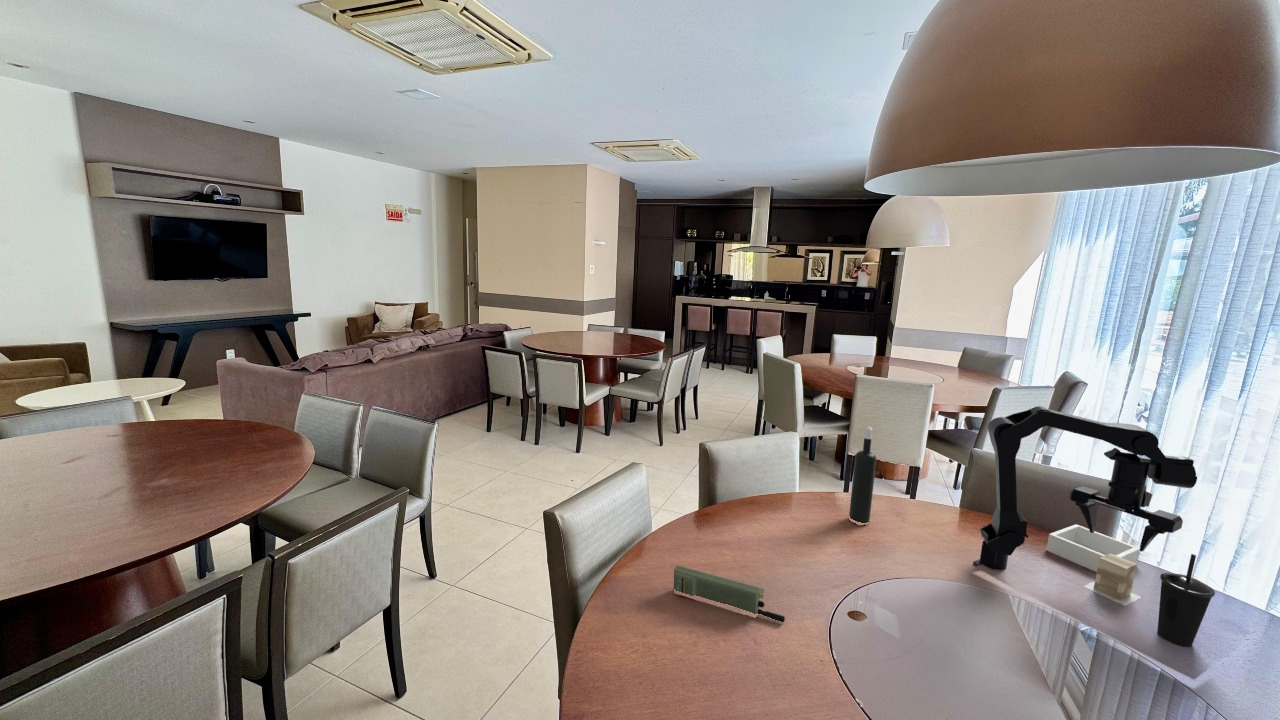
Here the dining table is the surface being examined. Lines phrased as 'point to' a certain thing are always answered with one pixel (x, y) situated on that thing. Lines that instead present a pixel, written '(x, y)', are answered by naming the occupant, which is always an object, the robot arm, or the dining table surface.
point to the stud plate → (1124, 601)
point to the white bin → (1068, 549)
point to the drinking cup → (1182, 606)
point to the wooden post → (1115, 576)
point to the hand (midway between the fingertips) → (1116, 541)
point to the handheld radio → (721, 590)
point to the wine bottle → (863, 481)
